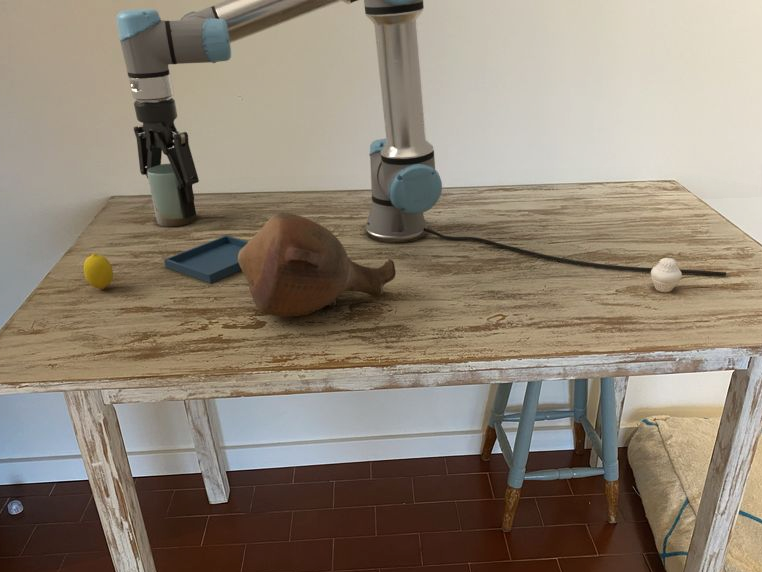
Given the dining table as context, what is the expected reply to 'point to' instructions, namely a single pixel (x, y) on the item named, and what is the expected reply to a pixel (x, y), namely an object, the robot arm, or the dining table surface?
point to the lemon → (98, 271)
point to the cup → (165, 191)
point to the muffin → (666, 275)
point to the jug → (303, 268)
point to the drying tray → (209, 259)
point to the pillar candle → (171, 222)
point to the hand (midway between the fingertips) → (176, 212)
